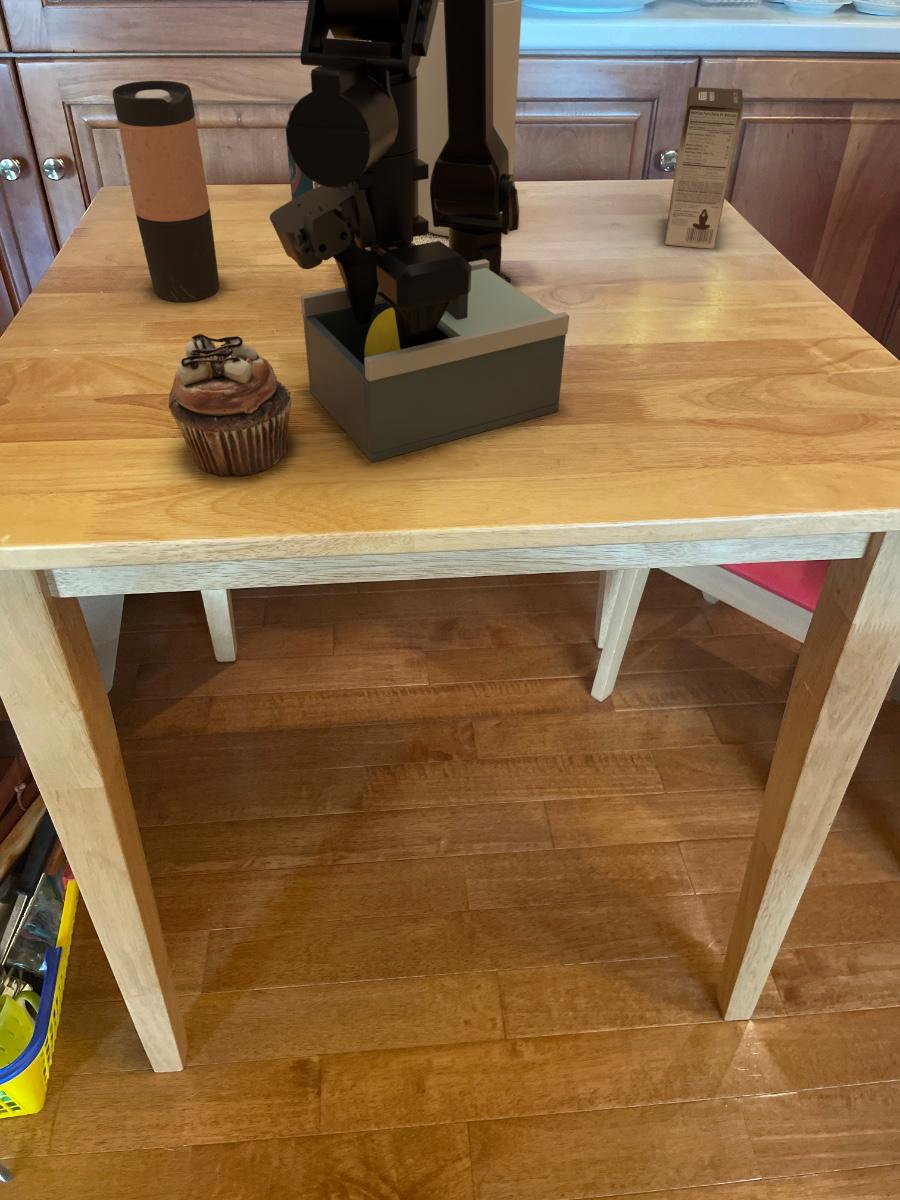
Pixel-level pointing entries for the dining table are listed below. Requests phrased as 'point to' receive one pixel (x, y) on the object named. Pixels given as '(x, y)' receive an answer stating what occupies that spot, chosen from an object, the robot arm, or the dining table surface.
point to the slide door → (489, 306)
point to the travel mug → (168, 187)
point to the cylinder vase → (435, 93)
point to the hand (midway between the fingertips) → (385, 343)
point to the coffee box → (703, 166)
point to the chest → (429, 376)
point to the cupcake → (230, 407)
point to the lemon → (382, 334)
